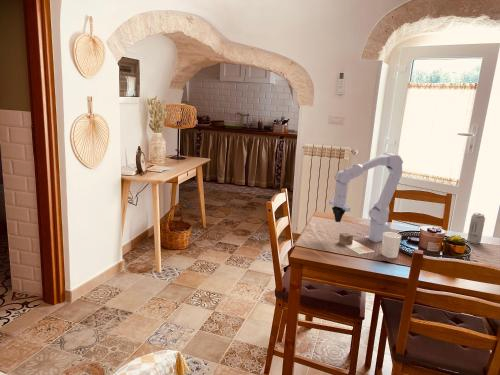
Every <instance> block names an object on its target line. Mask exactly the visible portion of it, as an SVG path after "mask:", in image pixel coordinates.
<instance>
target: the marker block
mask: <svg viewBox="0 0 500 375" xmlns="http://www.w3.org/2000/svg"><path fill="white" fill-rule="evenodd" d="M338 240H339V241H338V243H339V242H340V243H339V244H342V245H343V246H345V245H351V244H352V242H353V240H354V235H353V234H351V233H349V232H340V233H339V237H338Z"/></svg>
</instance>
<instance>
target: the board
mask: <svg viewBox="0 0 500 375" xmlns="http://www.w3.org/2000/svg"><path fill="white" fill-rule="evenodd" d="M338 243H339V244H341V243H340V242H339V241H338ZM344 247H346V248H347V249H350V250H351V251H354V252H355V253H357V254H359V255H362V254H369V253H374V252H376V251H375V250H373V249H370V248H369V247H367V246H365V245H363V244H361V243H360V242H358V241H356V240H354V239H353V242H352V244H351V245H344Z"/></svg>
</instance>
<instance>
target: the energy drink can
mask: <svg viewBox="0 0 500 375" xmlns="http://www.w3.org/2000/svg"><path fill="white" fill-rule="evenodd" d="M485 222H486V217H485V214H483V213H480V212H474V213H472V215H471V218H470V223H469V229H468V233H467V242H468V243H470V244H475V245H479V244H480V243H481V242H482V241H481V240H482V237H483V236H482V235H483V232H484V226H485Z"/></svg>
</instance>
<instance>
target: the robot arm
mask: <svg viewBox="0 0 500 375" xmlns="http://www.w3.org/2000/svg"><path fill="white" fill-rule="evenodd" d="M403 163H404V161H403V159H402V157H401V156H400V155H399V154H394V153H391V152H389V151H388V152H387V151H386V152H384V153H380V154H379V155H377V156H376V157H374V158H371V159H370V160H367V161H366V162H364V163H362V164H359V163H357V164H356V163H353V164H352V165H351V166H350V167H347V168H344V169H343V170H337V172H336V173H335V175H334V179H335V187H334V189H335V190H334V196H333V197H334V198H333V199H330V200H329V201H328V204H329V205H331V206H333V207H331V209H332V211H333V215H334V221H335V222H336V223H341V221H342V218H343V216H344V215H345V213H348V212H351V207H350V206H349V205H348V204H347V196H348V187H349V186H348V185H349V182H350V181H351V180H353V179H356V178H358V177H360V176H362V175H364V172H365V171H368V170H371V169H374V168H376V167H378V166H384V167H386V169H387V170H388V172H389V174H388V177H387V179H386V182H385V184H384V186H383V189H382V191H381V194H380V196H379V198H378V200H377V202H376V203H374V204H373V206H372V207H371V209H370V210H369V212H368V216H369V218H370V220H369V229H368V235H365V236H364V237H365V238H366V239H368V240H370V241H371V242H375V243H377V242H382V239H383V233H384V232H390V224H389V222H388V221H389V214H390V208H389V205H390V203H391V201H392V199H393V197H394V193H395V192H396V190H397V187H398V185H399V182H400V180H401V178H402V175H403Z"/></svg>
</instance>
